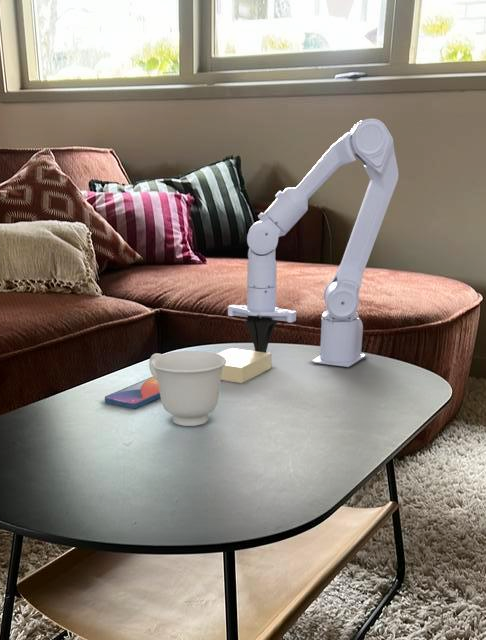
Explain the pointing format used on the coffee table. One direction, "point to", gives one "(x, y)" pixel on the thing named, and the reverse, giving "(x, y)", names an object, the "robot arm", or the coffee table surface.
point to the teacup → (188, 384)
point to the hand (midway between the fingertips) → (260, 354)
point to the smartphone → (135, 394)
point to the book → (244, 364)
